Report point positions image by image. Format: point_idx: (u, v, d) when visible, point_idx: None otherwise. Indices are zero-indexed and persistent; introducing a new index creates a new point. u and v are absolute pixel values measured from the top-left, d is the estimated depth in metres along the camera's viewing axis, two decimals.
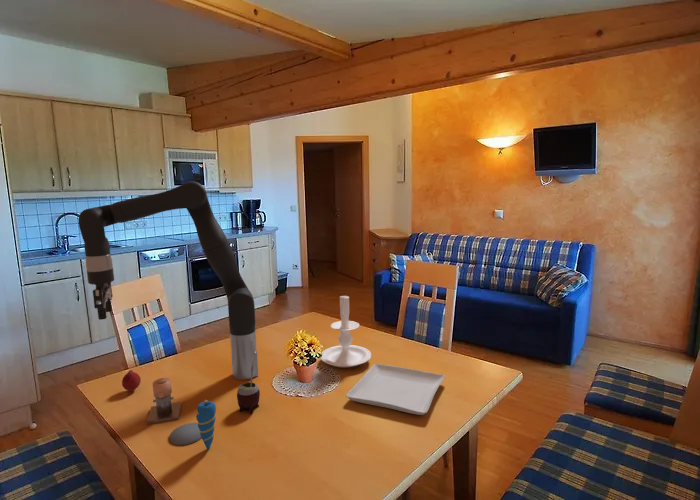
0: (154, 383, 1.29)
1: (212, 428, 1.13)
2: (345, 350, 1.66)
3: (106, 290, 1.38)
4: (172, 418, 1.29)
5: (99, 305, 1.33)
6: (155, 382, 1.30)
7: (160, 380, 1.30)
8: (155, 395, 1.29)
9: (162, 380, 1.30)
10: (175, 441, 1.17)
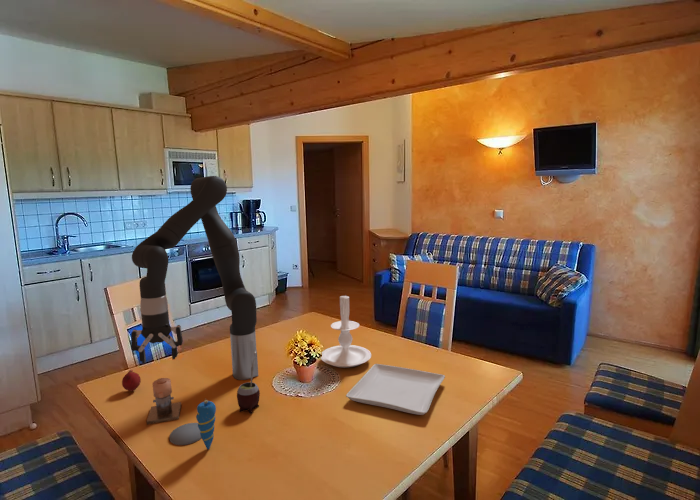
0: (154, 383, 1.29)
1: (212, 428, 1.13)
2: (345, 350, 1.66)
3: None
4: (172, 418, 1.29)
5: (181, 341, 1.31)
6: (155, 382, 1.30)
7: (160, 380, 1.30)
8: (155, 395, 1.29)
9: (162, 380, 1.30)
10: (175, 441, 1.17)
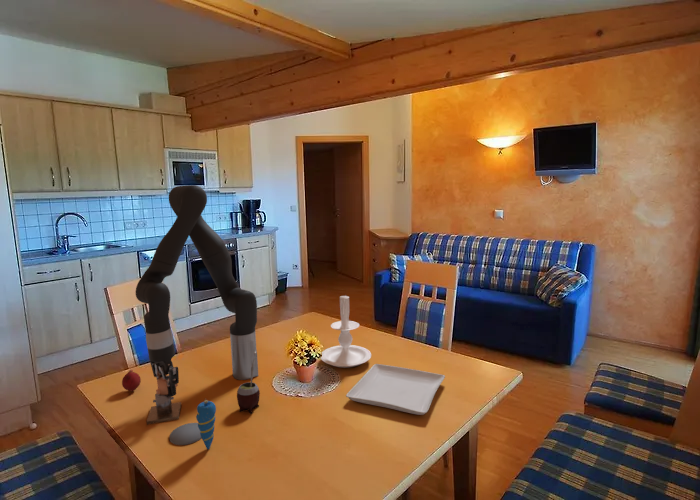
0: (161, 378, 1.33)
1: (212, 428, 1.13)
2: (345, 350, 1.66)
3: (171, 364, 1.31)
4: (172, 418, 1.29)
5: (175, 382, 1.28)
6: None
7: None
8: None
9: None
10: (175, 441, 1.17)
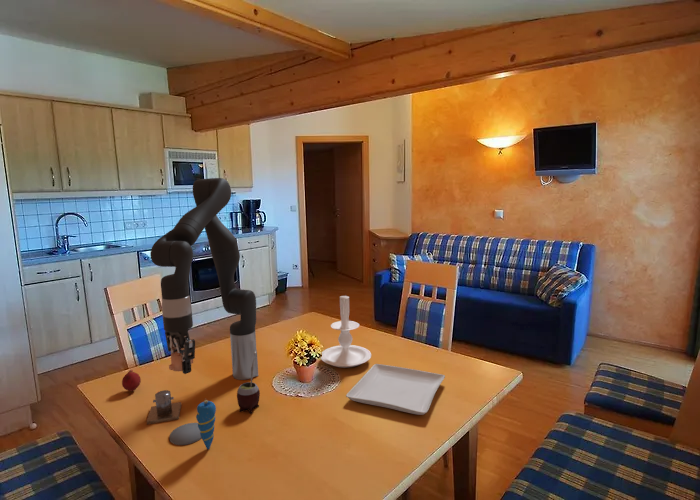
0: None
1: (212, 428, 1.13)
2: (345, 350, 1.66)
3: None
4: (172, 418, 1.29)
5: (190, 357, 1.13)
6: (177, 352, 1.18)
7: None
8: None
9: None
10: (175, 441, 1.17)
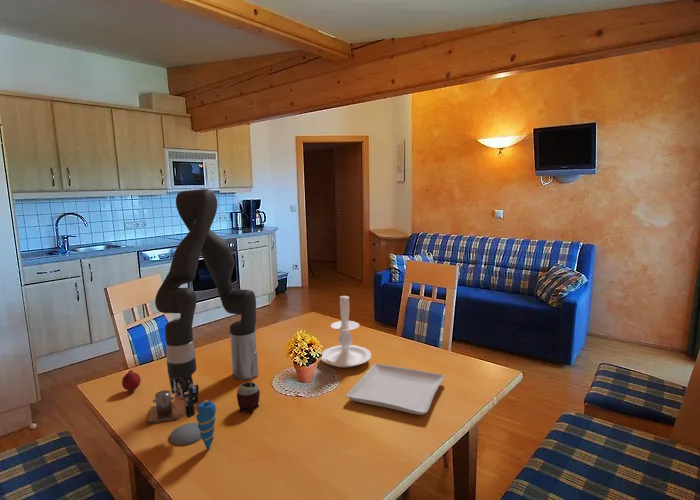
0: None
1: (212, 428, 1.13)
2: (345, 350, 1.66)
3: None
4: (172, 418, 1.29)
5: (194, 402, 1.15)
6: None
7: None
8: None
9: None
10: (175, 441, 1.17)
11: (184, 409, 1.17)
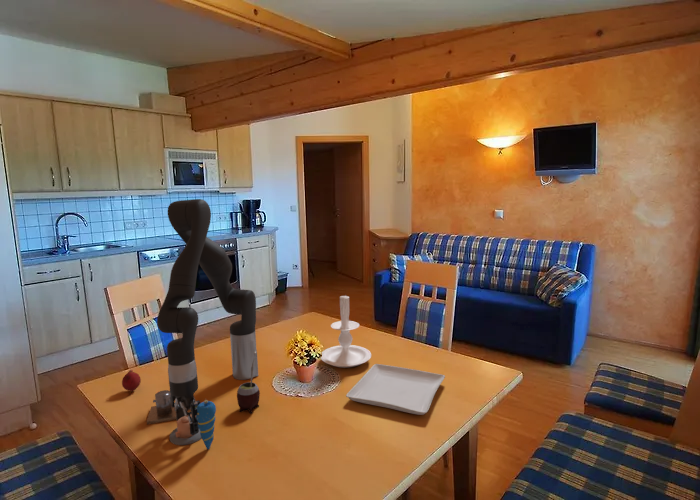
0: (181, 418, 1.21)
1: (212, 428, 1.13)
2: (345, 350, 1.66)
3: None
4: (172, 418, 1.29)
5: None
6: None
7: (185, 418, 1.20)
8: None
9: (185, 419, 1.20)
10: (175, 441, 1.17)
11: (186, 432, 1.18)
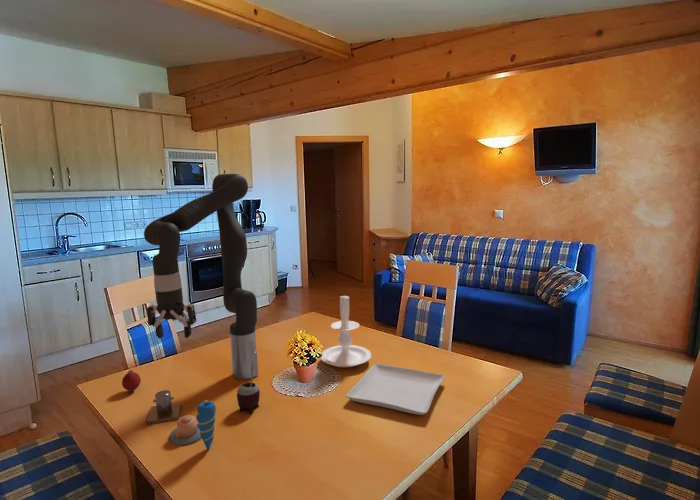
0: None
1: (212, 428, 1.13)
2: (345, 350, 1.66)
3: None
4: (172, 418, 1.29)
5: (194, 320, 1.29)
6: None
7: (185, 418, 1.20)
8: None
9: (185, 419, 1.20)
10: (175, 441, 1.17)
11: (187, 432, 1.18)
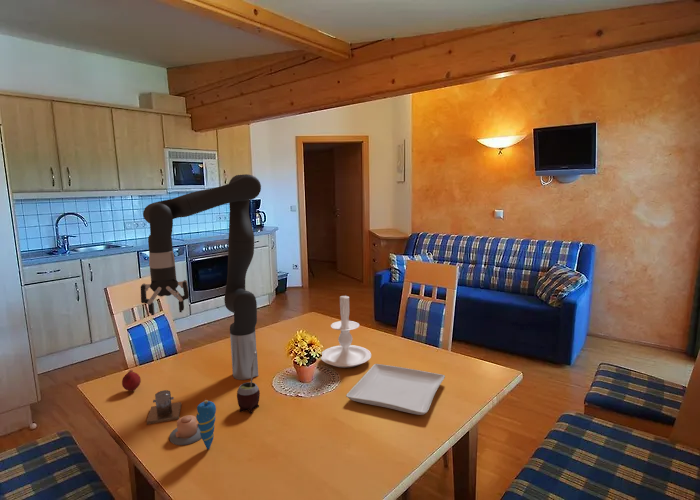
0: (181, 418, 1.21)
1: (212, 428, 1.13)
2: (345, 350, 1.66)
3: None
4: (172, 418, 1.29)
5: (188, 295, 1.39)
6: None
7: (185, 418, 1.20)
8: None
9: (185, 419, 1.20)
10: (175, 441, 1.17)
11: (187, 432, 1.18)
